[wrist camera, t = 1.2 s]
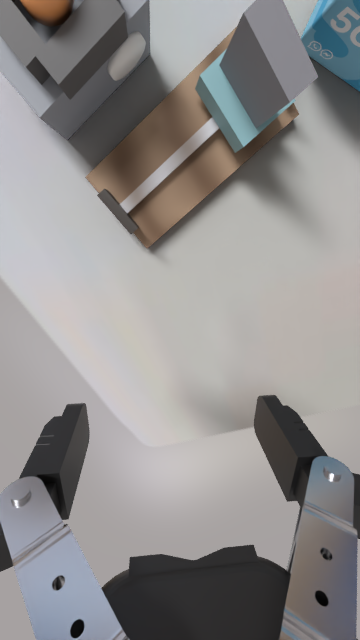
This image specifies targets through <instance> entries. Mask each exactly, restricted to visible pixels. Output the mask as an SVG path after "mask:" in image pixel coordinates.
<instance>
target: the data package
mask: <svg viewBox="0 0 360 640" xmlns="http://www.w3.org/2000/svg"><path fill="white" fill-rule="evenodd" d="M301 41H302V43H303V45H304V47H305V49H306V51H307V53H308V56H310V57H311V58H313V59H314V60H315V61H317V62H318V63H320V64H321V65H322V66H324V67H325V68H327V69H328V70H330V71H331V72H332V73H334V74H335V75H337V76H338V77H339V78H341V79H342V80H344V81H345V82H347V83H348V84H349V85H351V86H352V87H354V88H355V89H357V90H358V91H359V92H360V0H318V2H317V4H316V6H315V9H314V11H313V13H312V15H311V17H310V19H309V22H308V24H307V26H306V28H305V30H304V33H303V35H302V37H301Z"/></svg>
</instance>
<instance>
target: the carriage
mask: <svg viewBox="0 0 360 640" xmlns="http://www.w3.org/2000/svg"><path fill="white" fill-rule="evenodd" d="M316 78H318V75H317V73H316V71H315V69H314V66H313V64H312V62H311V60H310V58H309V56H308V53H307V51H306V49H305V47H304V45H303V43H302V41H301V38H300V36H299V34H298V32H297V30H296V28H295V25H294V23H293V21H292V19H291V17H290V15H289V12H288V10H287V8H286V6H285V4H284V2H283V0H256V1H255V2H254V3H253V4H252V5H251V6H250V7H249V8H248V9H247V10H246V11H245V12H244V13H243V15H242V17H241V19H240V22H239V24H238V26H237V28H236V30H235V32H234V35H233V37H232V39H231V41H230V43H229V45H228V47H227V49H226V50H225V51H224V52H223V53H222V54H221V55H220V56H219V57H218V58H217V59H216V60H215V61H214V62H213V63H212V64H211V65H210V66H209V67H208V68H207V69H206V70H205V71H204V72H203V73H202V74H201V75H200V76H199V79H198V82H197V85H196V87H195V90H196V91H197V93H198V95H199V96H200V98H201V99H202V101H203V103H204V104H205V106H206V107H207V109H208V111H209V112H210V114H211V115H212V117H213V118H214V120H215V122H216V123H217V125H218V126H219V128H220V130H221V131H222V133H223V134H224V136H225V138H226V139H227V141H228V142H229V144H230V146H231V147H232V149H233V150H234V152H235V153H236V152H237V151H239V150H240V149H242V148H243V147H244V146H246V145H247V144H248V143H249V142H250V141H251V140H252V139H253V138H254V137H256V136H257V135H258V134H259V133H260V132H261V131H262V130H263V129H264V128H266V127H267V126H268V125H269V124H270V123H271V122H272V121H273V120H274V119H276V118H277V117H278V116H279V115H280V114H281V113H282V112H283V111H285V110H286V109H287V108H288V107H289V106H290V105H291V104H292V103H293V102H295V99H294V98H295V97H296V96H298V95H299V94H300V93H301V92H302V91H303V90H304V89H305V88H306V87H308V86H309V85H310V84H311V83H312V82H313V81H314V80H315V79H316Z"/></svg>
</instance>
